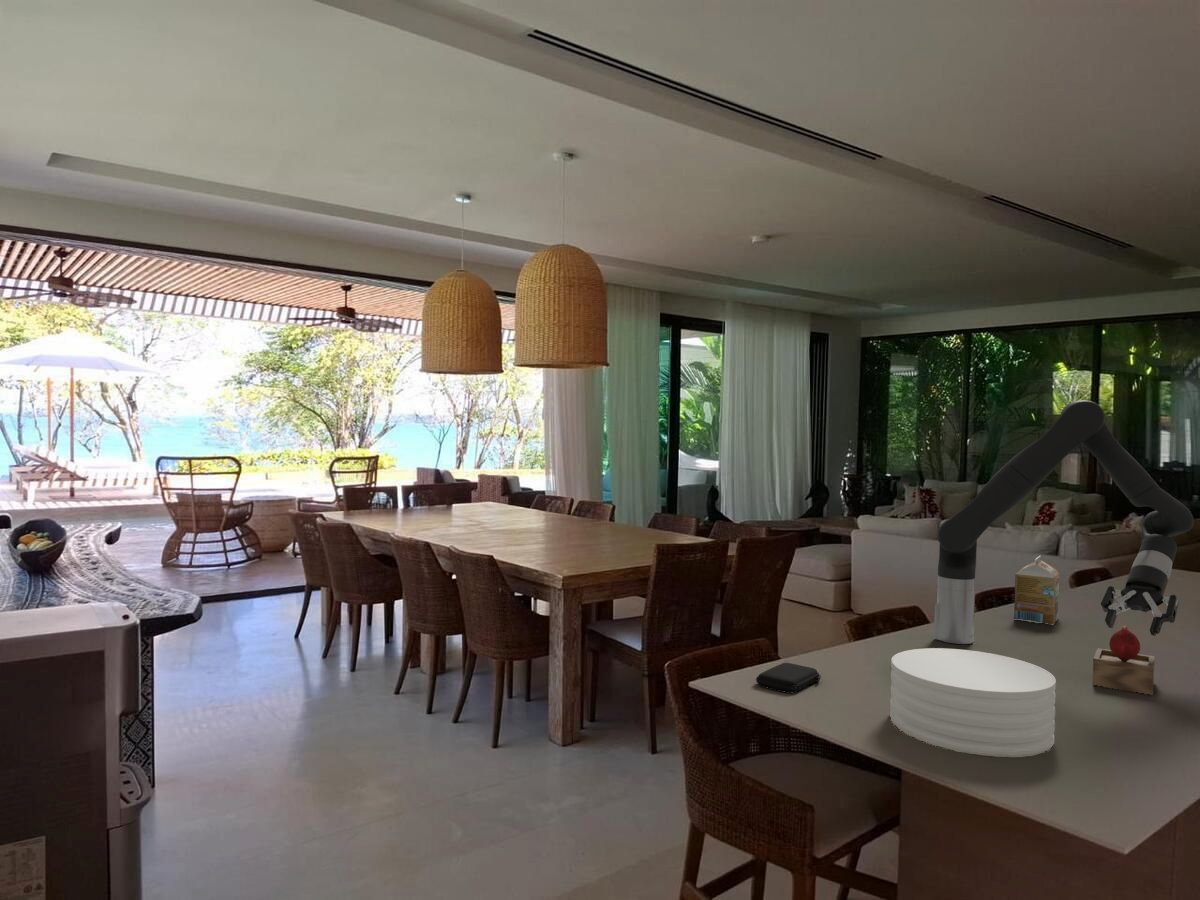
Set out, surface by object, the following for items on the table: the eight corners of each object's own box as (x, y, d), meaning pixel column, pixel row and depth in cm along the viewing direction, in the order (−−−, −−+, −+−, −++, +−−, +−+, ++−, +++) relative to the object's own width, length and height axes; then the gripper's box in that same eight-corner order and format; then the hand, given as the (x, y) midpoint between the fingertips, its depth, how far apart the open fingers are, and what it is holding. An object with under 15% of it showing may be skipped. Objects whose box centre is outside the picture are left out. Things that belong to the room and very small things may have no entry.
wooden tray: (1092, 685, 178) (1093, 658, 177) (1096, 673, 186) (1097, 648, 186) (1152, 695, 171) (1153, 667, 171) (1153, 682, 180) (1154, 656, 180)
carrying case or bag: (798, 698, 166) (827, 682, 178) (798, 684, 166) (827, 668, 178) (752, 687, 173) (783, 672, 185) (752, 673, 173) (783, 659, 185)
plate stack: (976, 768, 132) (978, 700, 132) (858, 713, 158) (860, 655, 157) (1090, 745, 143) (1092, 681, 143) (962, 697, 169) (964, 643, 168)
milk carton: (1019, 614, 249) (1021, 553, 249) (1058, 619, 243) (1060, 557, 243) (1014, 620, 241) (1015, 557, 240) (1054, 625, 235) (1055, 561, 234)
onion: (1144, 666, 175) (1145, 629, 175) (1115, 664, 177) (1116, 628, 176) (1132, 659, 181) (1133, 624, 181) (1104, 657, 182) (1105, 622, 182)
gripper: (1111, 560, 191) (1091, 613, 184) (1182, 568, 180) (1163, 625, 173) (1119, 579, 195) (1099, 633, 188) (1189, 589, 184) (1171, 646, 177)
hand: (1130, 629), depth 181 cm, fingers open, 8 cm apart
